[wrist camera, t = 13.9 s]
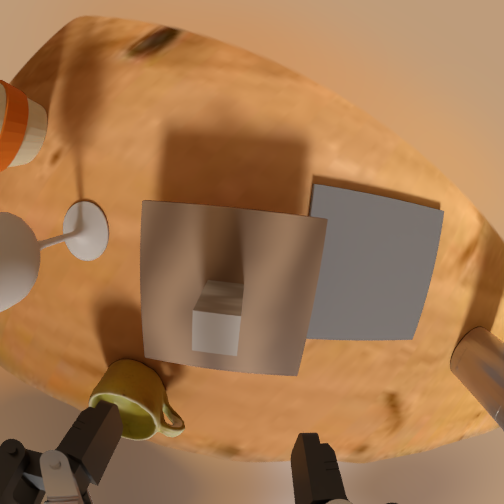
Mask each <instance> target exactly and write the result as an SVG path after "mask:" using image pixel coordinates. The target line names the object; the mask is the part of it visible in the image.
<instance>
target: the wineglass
mask: <svg viewBox="0 0 504 504" xmlns="http://www.w3.org/2000/svg"><path fill="white" fill-rule="evenodd" d="M108 238H109V228H108V223H107V220H106V217H105V215H104V213H103V212H102V211H101V209H100V208H99V207H98V206H96V205H95V204H94V203H91V202H86V201H82V202H78V203H76V204H74V205H73V206H72V207H71V208H70V209H69V210H68V212H67V214H66V216H65V219H64V223H63V235H60V236H56V237H53V238H50V239H47V240H43V241H37V239H36V236H35V234H34V232H33V231H32V229H31V228H30V227H29V226H28V225H27V224H26V223H25V222H24V221H23V220H22V219H21V218H20V217H18V216H16V215H13V214H11V213H8V212H0V312H1V311H3V310H6V309H8V308H9V307H11V306H13V305H14V304H16V303H18V302H19V301H21V300H22V299H23V298H24V297H26V296H27V294H28V293H29V291H30V290H31V288H32V287H33V285H34V284H35V282H36V279H37V276H38V271H39V266H40V250H42V249H43V248H45V247H48V246H51V245H54V244H57V243H60V242H63V241H65V243H66V245H67V247H68V249H69V250H70V251H71V253H72V254H73V255H74V256H75V257H77V258H79V259H81V260H84V261H91V260H94V259H96V258H98V257H99V256H100V255H101V254H102V253H103V252H104V250H105V249H106V246H107V243H108Z"/></svg>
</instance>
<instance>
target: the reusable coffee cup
mask: <svg viewBox="0 0 504 504" xmlns="http://www.w3.org/2000/svg"><path fill="white" fill-rule="evenodd" d="M46 131H47V114H46V111H45V109H44V108H43V107H42V106H41V105H40V104H38V103H36V102H34V101H32V100H30V99H29V98H27V97H26V95H25V93H24V92H22V91H21V90H19V89H17V88H15V87H14V86H12V85H10V84H8V83H6V82H5V81H3V80H0V172H1V171H3V170H5V169H6V168H7V167H12V166H18V165H24V164H27V163H29V162H30V161H31V160H33V159H34V157H35V156H36V155H37V154H38V152H39V150H40V149H41V146H42V144H43V142H44V139H45V135H46Z"/></svg>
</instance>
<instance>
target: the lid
mask: <svg viewBox="0 0 504 504" xmlns="http://www.w3.org/2000/svg"><path fill="white" fill-rule="evenodd" d="M327 222H328V219H325V218H318V217H311V216H303V215H296V214H288V213H280V212H271V211H262V210H253V209H244V208H235V207H225V206H214V205H203V204H191V203H179V202H166V201H151V200H143V201H142V216H141V243H140V288H141V314H142V330H143V343H144V354H145V357H146V358H150V359H155V360H160V361H166V362H171V363H177V364H182V365H188V366H195V367H201V368H209V369H216V370H224V371H233V372H243V373H254V374H267V375H284V376H297V375H298V371H299V367H300V363H301V358H302V354H303V350H304V346H305V341H306V337H307V332H308V328H309V323H310V318H311V314H312V309H313V304H314V299H315V294H316V288H317V283H318V278H319V272H320V266H321V260H322V254H323V248H324V242H325V235H326V229H327Z"/></svg>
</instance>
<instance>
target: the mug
mask: <svg viewBox="0 0 504 504" xmlns="http://www.w3.org/2000/svg"><path fill="white" fill-rule="evenodd" d="M100 400H104V401H107V402H110V403H113V404H116V405H117V406H118V409H119V413H120V417H121V420H122V424H123V432H122V436H121V437H123V438H127V439H132V440H146V439H149V438H151V437H152V436H153V435H154V434H155V433H156V432H161V433H163V434H164V435H166V436H168V437H176V436H178V435H180V434H181V433H182V432H183V431H184V429H185V425H184V421H183V420H182V419H181V417H180V416H179V415H178V414H177V413H176V412H175V411H174V410H173V408H172V407H171V406H170V405H169V402H168V397H167V394H166V391H165V388H164V386H163V384H162V382H161V379H160V377H159V376H158V374H157V373H156V372H155V371H154V370H153V369H151V368H149V367H147V366H145V365H144V364H143V363H141V362H139V361H136V360H131V359H122V360H118V361H116V362H114V363H113V364H111V365H110V366H109V368H108V370H107V371H106V373H105V374H104V376H103V377H102V379H101V380H100V382H99V383H98V385H97V386H96V387H95V388H94V390H93V392H92V394H91V396H90V399H89V407H93V408H95V407H96V405H97V404H98V402H99V401H100ZM163 412H164V413H165V414H166V416H167V417H168V419H169V420H170V421H171V422H172V423H173V425H170V424H167V423H166V422H165V420H164V415H163Z"/></svg>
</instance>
